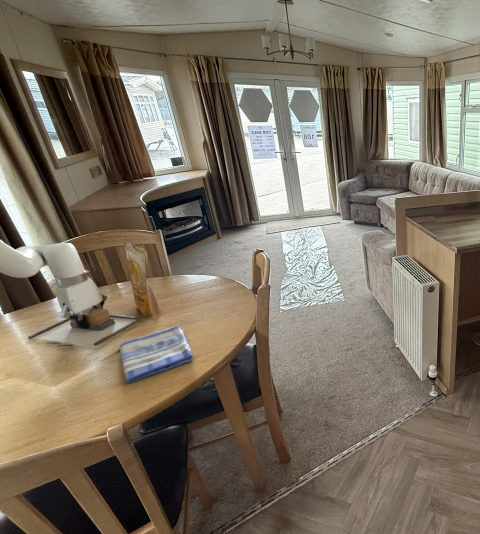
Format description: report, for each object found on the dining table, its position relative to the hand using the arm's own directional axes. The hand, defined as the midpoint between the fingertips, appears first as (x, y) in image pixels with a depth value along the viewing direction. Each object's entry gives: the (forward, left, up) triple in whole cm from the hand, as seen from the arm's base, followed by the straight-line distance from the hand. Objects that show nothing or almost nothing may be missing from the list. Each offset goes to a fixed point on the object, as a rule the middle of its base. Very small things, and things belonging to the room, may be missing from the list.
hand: (92, 323), depth 122 cm
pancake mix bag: (+9, +14, -2) cm, 17 cm away
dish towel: (+35, -10, -2) cm, 36 cm away
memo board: (0, -2, -2) cm, 3 cm away
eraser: (0, 0, -1) cm, 1 cm away
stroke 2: (+3, -11, -1) cm, 12 cm away
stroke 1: (-2, -11, -1) cm, 11 cm away
